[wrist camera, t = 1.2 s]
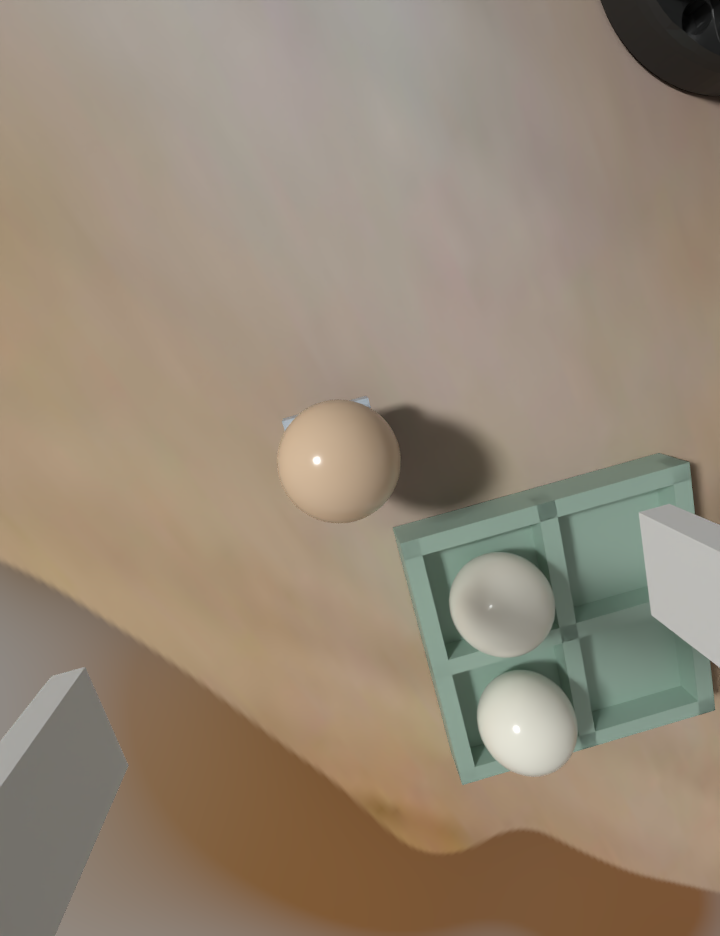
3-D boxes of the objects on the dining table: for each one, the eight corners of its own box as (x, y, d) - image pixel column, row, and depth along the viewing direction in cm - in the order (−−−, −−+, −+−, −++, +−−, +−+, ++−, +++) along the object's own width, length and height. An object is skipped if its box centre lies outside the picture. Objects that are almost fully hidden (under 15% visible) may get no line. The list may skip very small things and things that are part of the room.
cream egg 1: (520, 526, 29) (566, 564, 24) (536, 608, 30) (583, 662, 25) (429, 551, 29) (455, 596, 24) (449, 633, 30) (478, 693, 25)
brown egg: (376, 381, 25) (393, 390, 19) (402, 486, 26) (425, 521, 21) (266, 411, 24) (254, 428, 19) (298, 515, 26) (295, 557, 20)
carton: (658, 453, 30) (689, 462, 28) (686, 684, 34) (715, 710, 31) (392, 527, 30) (400, 543, 27) (451, 753, 33) (462, 785, 31)
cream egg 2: (542, 640, 31) (589, 699, 26) (556, 713, 32) (604, 784, 27) (457, 665, 31) (486, 729, 26) (474, 737, 32) (506, 813, 27)
